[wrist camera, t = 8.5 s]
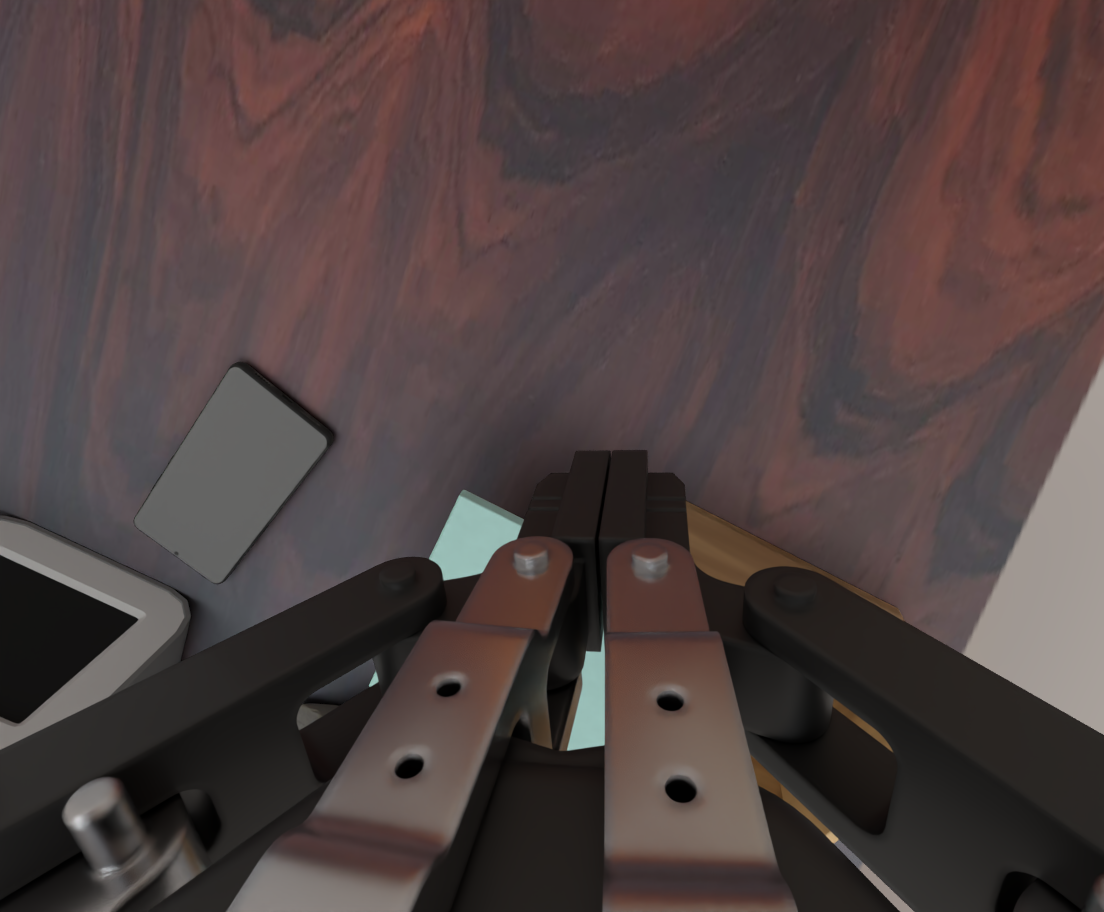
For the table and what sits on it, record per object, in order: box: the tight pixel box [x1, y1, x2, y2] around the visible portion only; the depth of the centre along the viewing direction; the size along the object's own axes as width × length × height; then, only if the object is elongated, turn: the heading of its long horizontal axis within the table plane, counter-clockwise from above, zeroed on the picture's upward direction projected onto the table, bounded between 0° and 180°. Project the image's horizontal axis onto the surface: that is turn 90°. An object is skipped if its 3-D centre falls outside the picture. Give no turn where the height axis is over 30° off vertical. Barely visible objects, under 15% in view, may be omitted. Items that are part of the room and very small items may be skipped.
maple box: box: [686, 501, 904, 844], centre depth 34 cm, size 12×14×9 cm
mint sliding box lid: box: [369, 490, 605, 751], centre depth 27 cm, size 12×14×4 cm
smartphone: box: [134, 362, 333, 584], centre depth 38 cm, size 7×1×15 cm
